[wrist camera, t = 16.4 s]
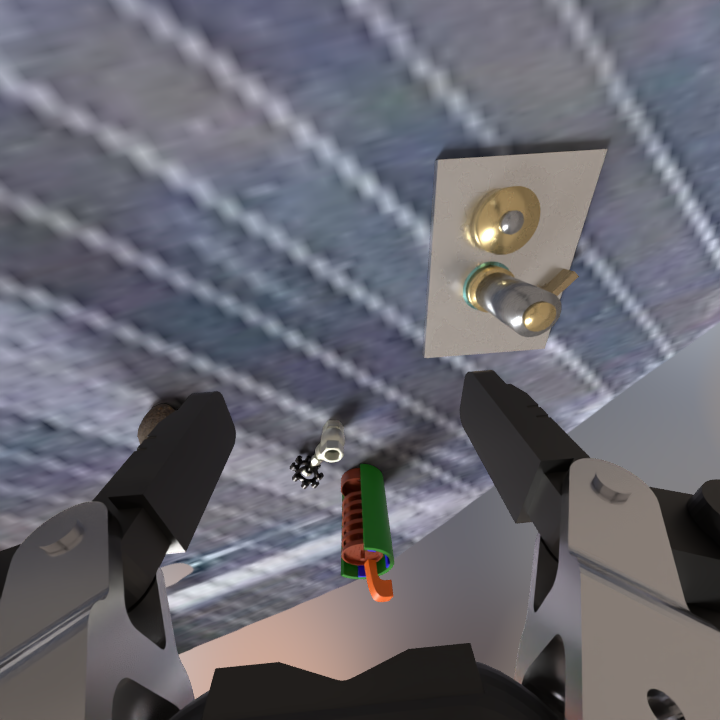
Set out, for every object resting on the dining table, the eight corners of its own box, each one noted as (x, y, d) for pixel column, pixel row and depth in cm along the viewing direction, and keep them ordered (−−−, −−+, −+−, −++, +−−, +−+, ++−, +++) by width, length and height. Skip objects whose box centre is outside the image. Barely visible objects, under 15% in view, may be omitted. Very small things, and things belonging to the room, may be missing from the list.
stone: (157, 410, 50) (155, 467, 48) (126, 405, 42) (122, 474, 40) (214, 403, 52) (214, 457, 50) (195, 397, 44) (194, 462, 42)
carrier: (434, 161, 31) (448, 154, 27) (598, 150, 31) (635, 142, 27) (422, 354, 43) (430, 369, 39) (539, 345, 44) (559, 358, 40)
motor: (344, 462, 55) (345, 581, 37) (387, 465, 56) (408, 582, 38) (338, 493, 59) (336, 612, 42) (377, 495, 61) (391, 612, 43)
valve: (323, 412, 48) (292, 452, 53) (320, 439, 42) (286, 483, 47) (354, 426, 50) (322, 464, 55) (356, 454, 44) (319, 494, 49)
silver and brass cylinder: (468, 266, 35) (518, 290, 25) (512, 263, 36) (579, 286, 25) (462, 309, 38) (505, 345, 28) (503, 306, 38) (560, 341, 28)
